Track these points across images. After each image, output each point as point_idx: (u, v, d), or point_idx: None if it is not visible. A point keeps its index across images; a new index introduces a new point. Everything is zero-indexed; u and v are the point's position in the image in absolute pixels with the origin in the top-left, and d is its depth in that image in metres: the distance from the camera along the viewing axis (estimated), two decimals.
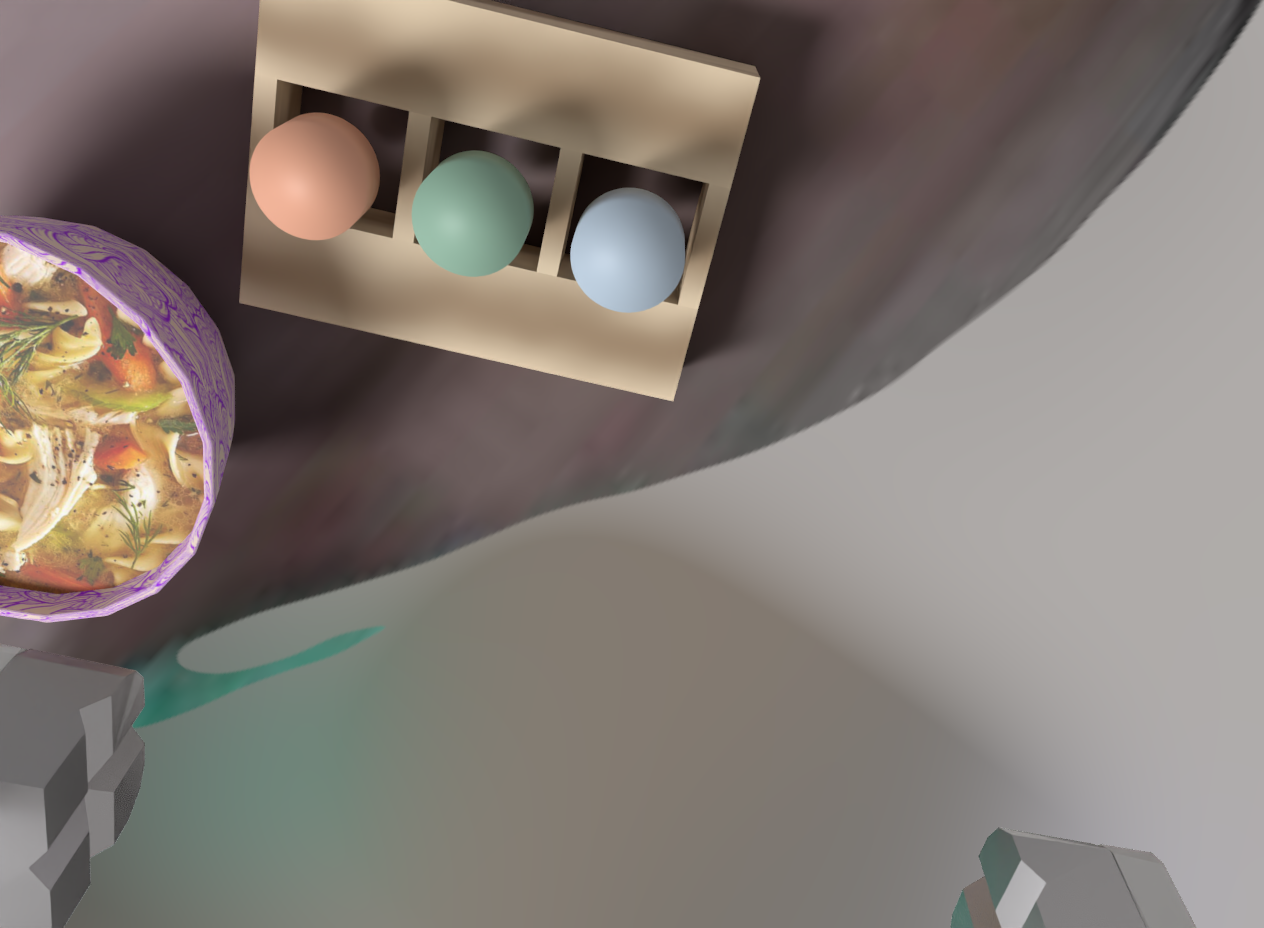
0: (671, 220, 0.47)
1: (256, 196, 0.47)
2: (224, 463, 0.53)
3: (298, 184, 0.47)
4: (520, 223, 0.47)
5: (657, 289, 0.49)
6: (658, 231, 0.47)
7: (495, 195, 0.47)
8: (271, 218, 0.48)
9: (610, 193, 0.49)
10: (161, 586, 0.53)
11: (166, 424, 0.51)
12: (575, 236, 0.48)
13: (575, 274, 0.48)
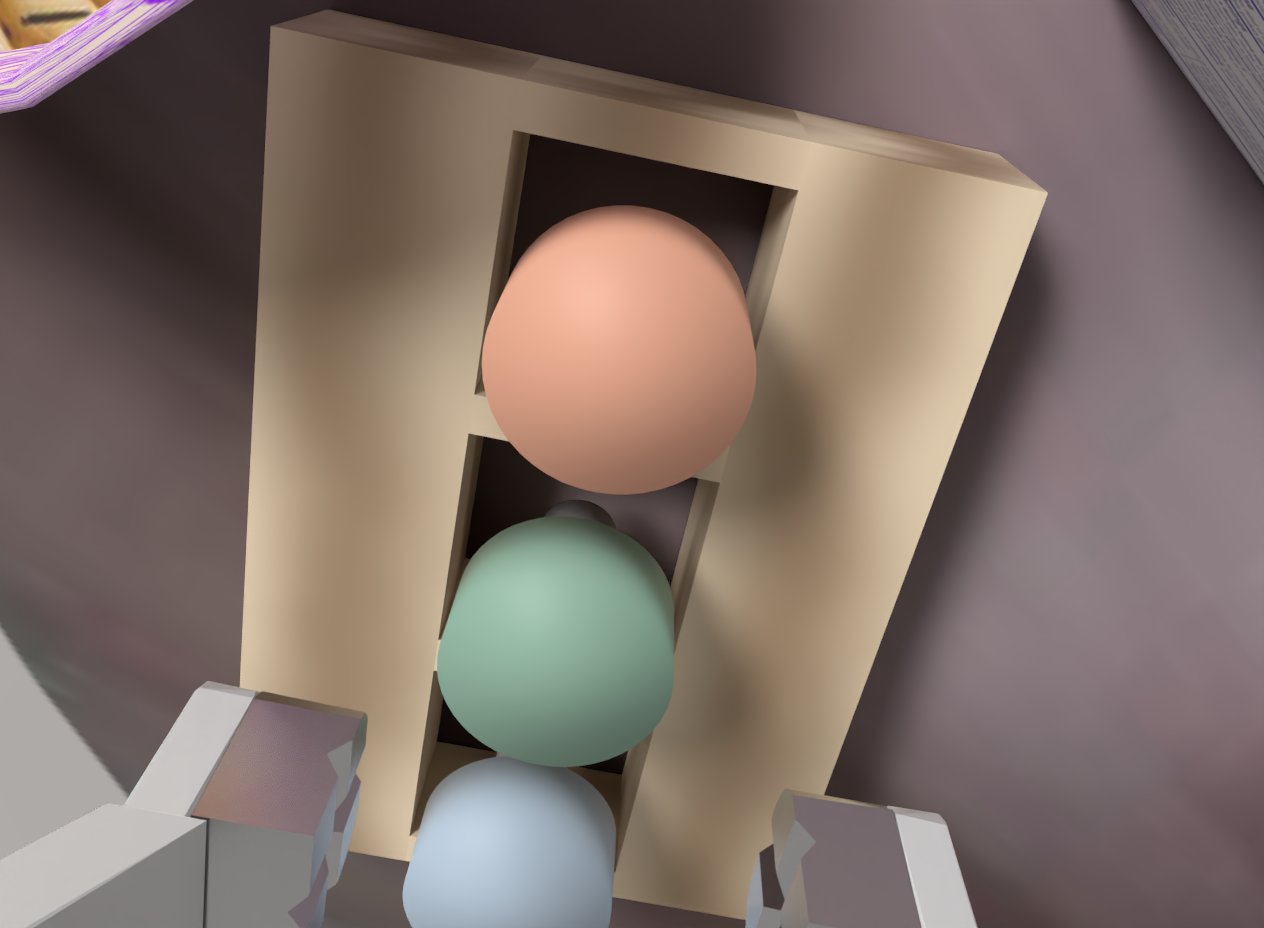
0: None
1: (578, 249, 0.19)
2: None
3: (613, 351, 0.20)
4: (555, 756, 0.24)
5: None
6: None
7: (608, 720, 0.24)
8: (526, 278, 0.19)
9: (608, 822, 0.28)
10: None
11: None
12: (539, 837, 0.25)
13: (465, 834, 0.25)
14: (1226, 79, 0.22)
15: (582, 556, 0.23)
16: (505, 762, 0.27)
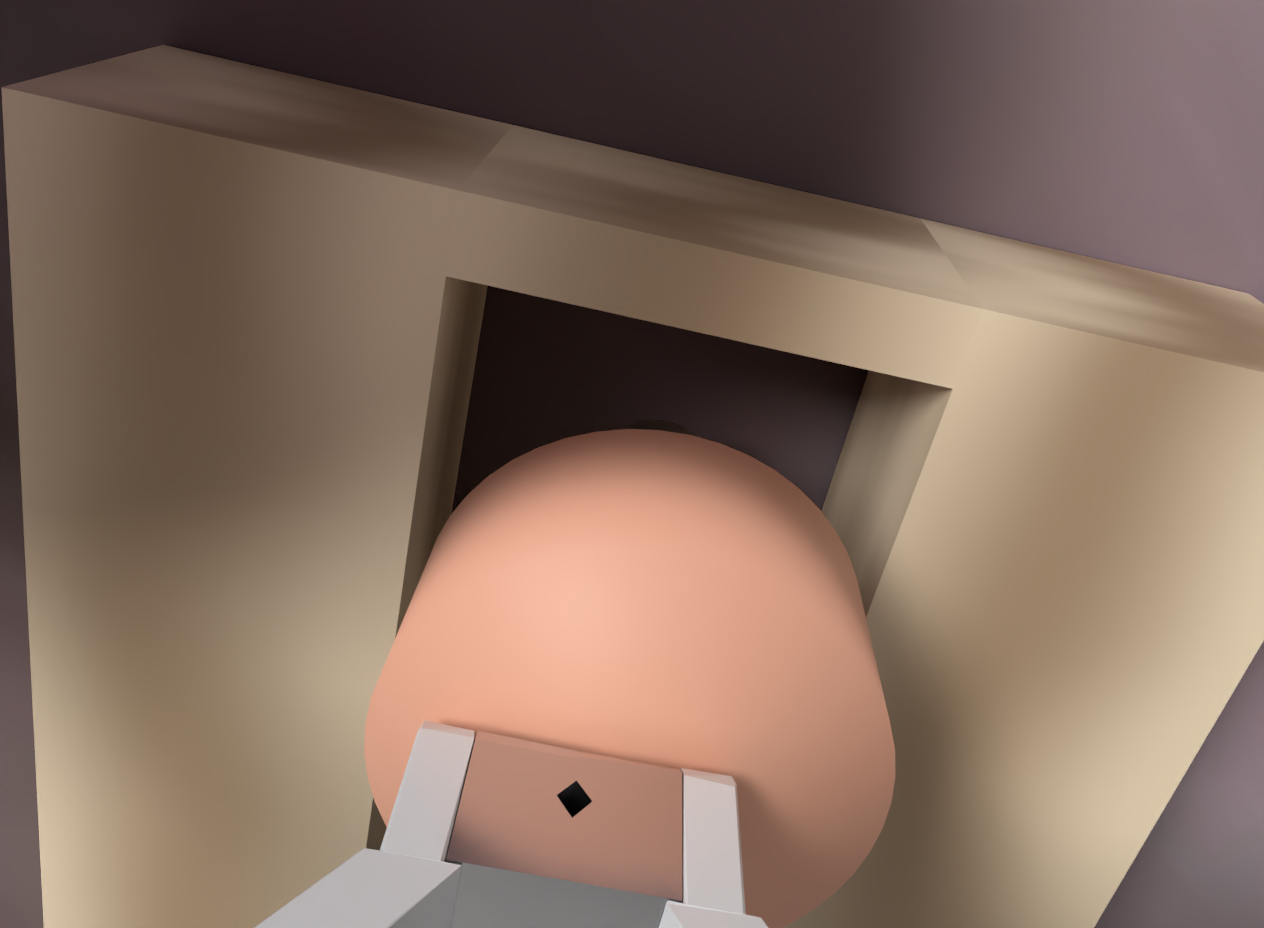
0: None
1: (549, 566, 0.09)
2: None
3: (615, 741, 0.10)
4: None
5: None
6: None
7: None
8: (445, 611, 0.10)
9: None
10: None
11: None
12: None
13: None
14: None
15: None
16: None
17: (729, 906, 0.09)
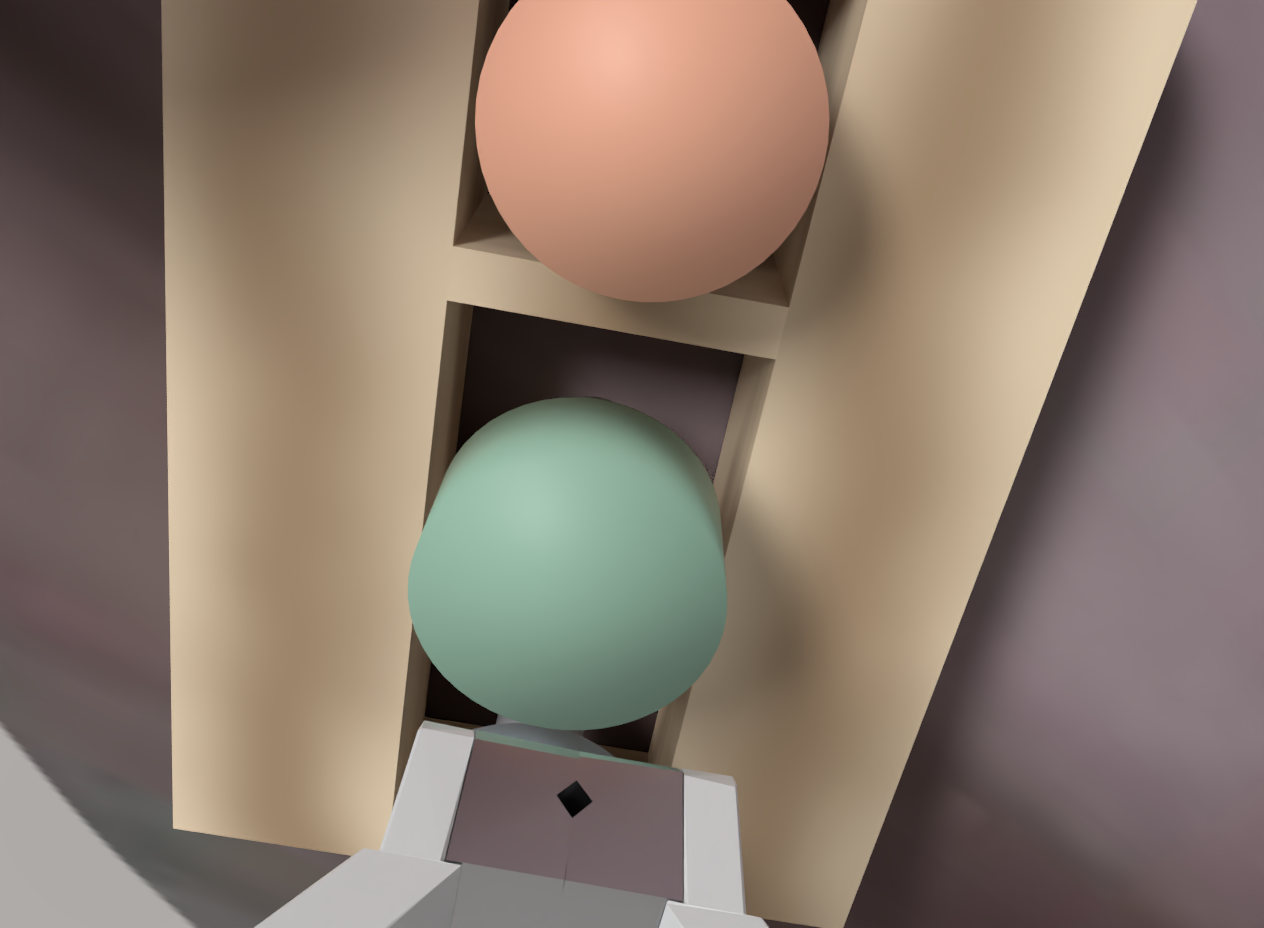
0: None
1: None
2: None
3: (643, 101, 0.15)
4: (570, 715, 0.18)
5: None
6: None
7: (640, 665, 0.18)
8: None
9: None
10: None
11: None
12: None
13: None
14: None
15: (601, 441, 0.17)
16: (505, 731, 0.21)
17: (730, 906, 0.09)
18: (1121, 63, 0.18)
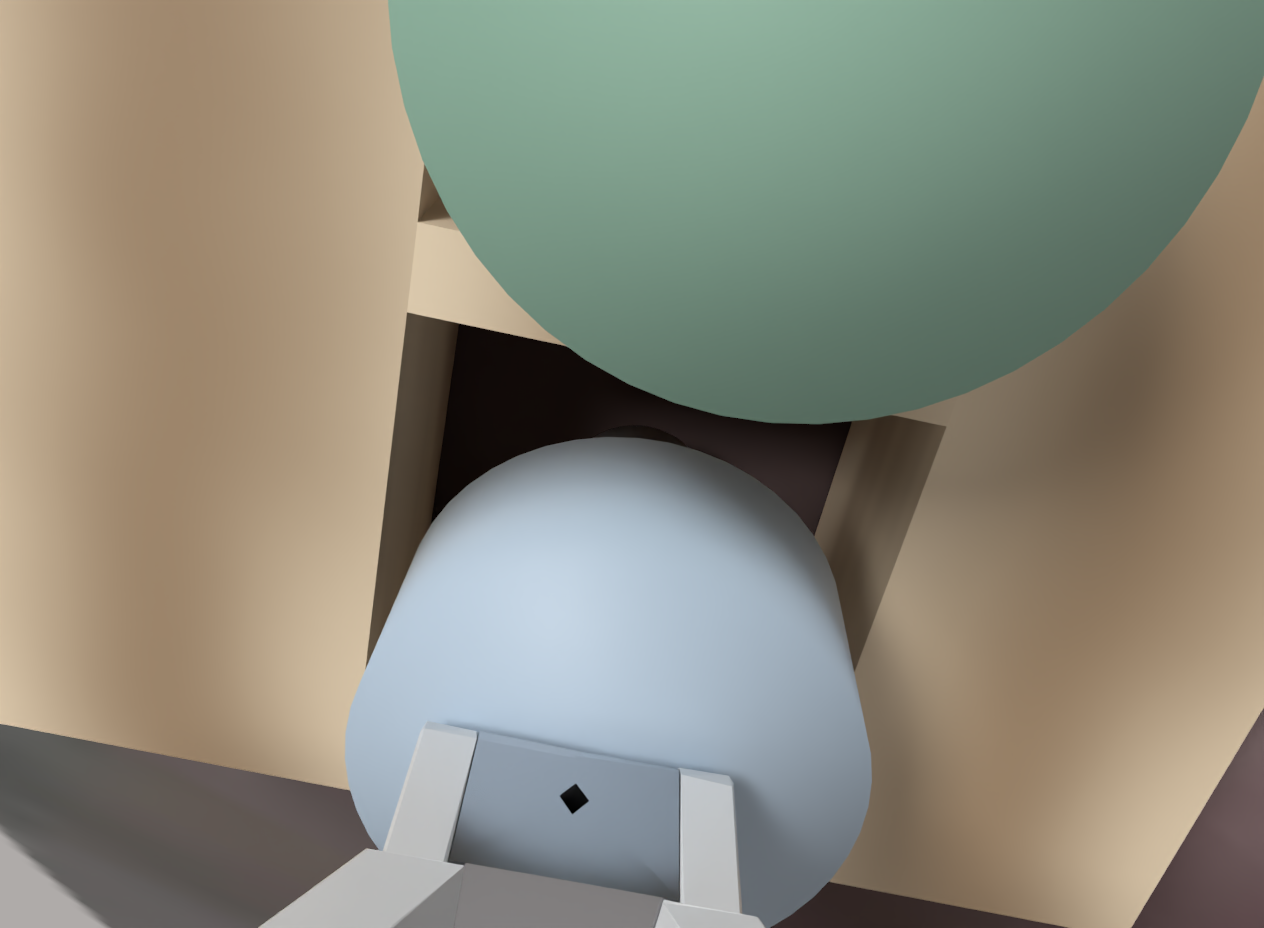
0: (769, 917, 0.11)
1: None
2: None
3: None
4: (788, 381, 0.07)
5: None
6: None
7: (995, 229, 0.07)
8: None
9: (837, 601, 0.12)
10: None
11: None
12: (704, 586, 0.09)
13: (506, 578, 0.10)
14: None
15: None
16: (599, 447, 0.11)
17: (726, 905, 0.09)
18: None
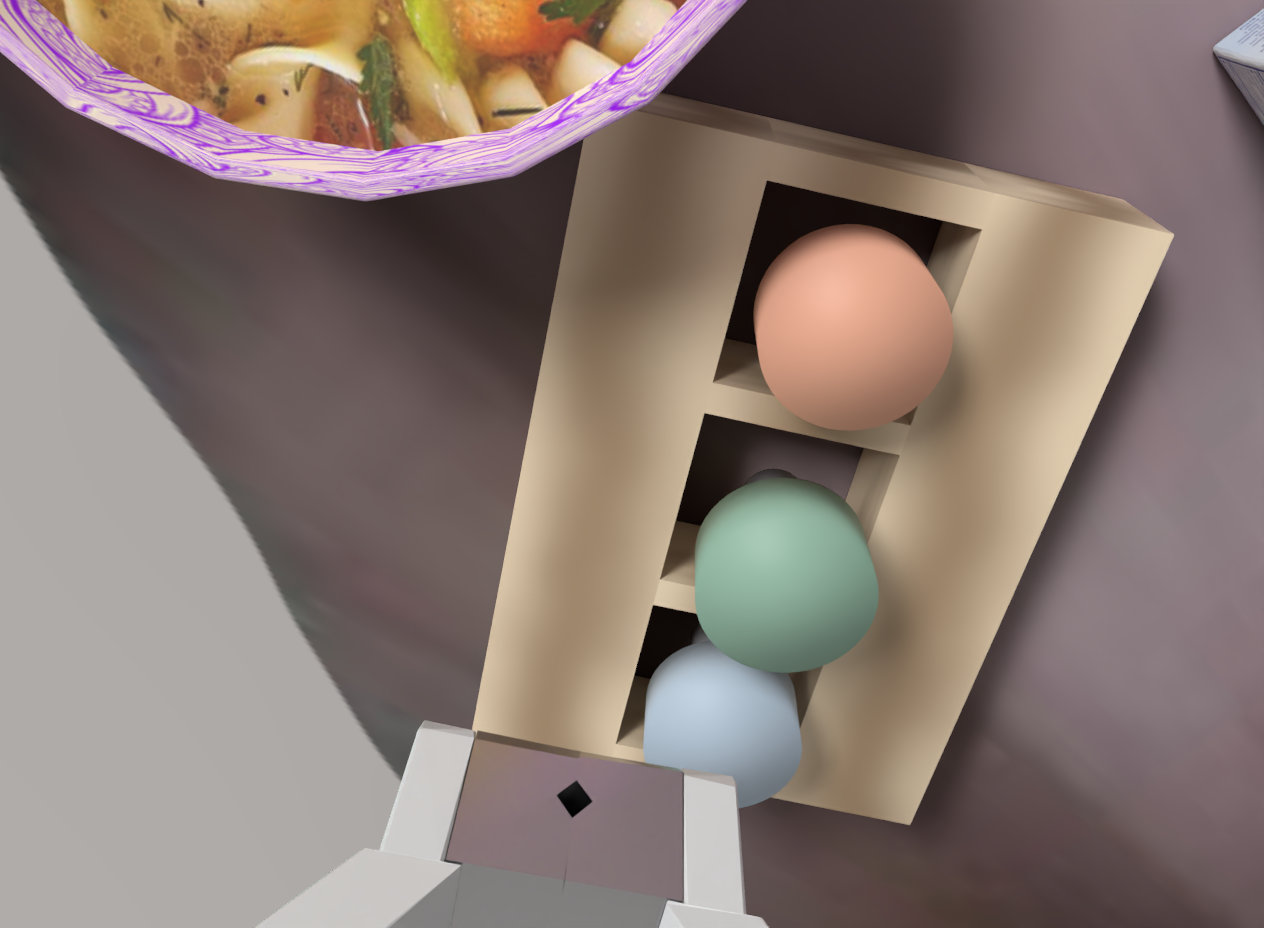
0: None
1: (837, 255, 0.28)
2: None
3: (852, 327, 0.28)
4: (778, 663, 0.31)
5: None
6: (757, 782, 0.35)
7: (823, 635, 0.31)
8: (797, 274, 0.28)
9: (793, 692, 0.36)
10: None
11: (378, 56, 0.23)
12: (754, 694, 0.34)
13: (698, 691, 0.34)
14: None
15: (811, 507, 0.30)
16: None
17: (729, 906, 0.09)
18: (1114, 300, 0.30)
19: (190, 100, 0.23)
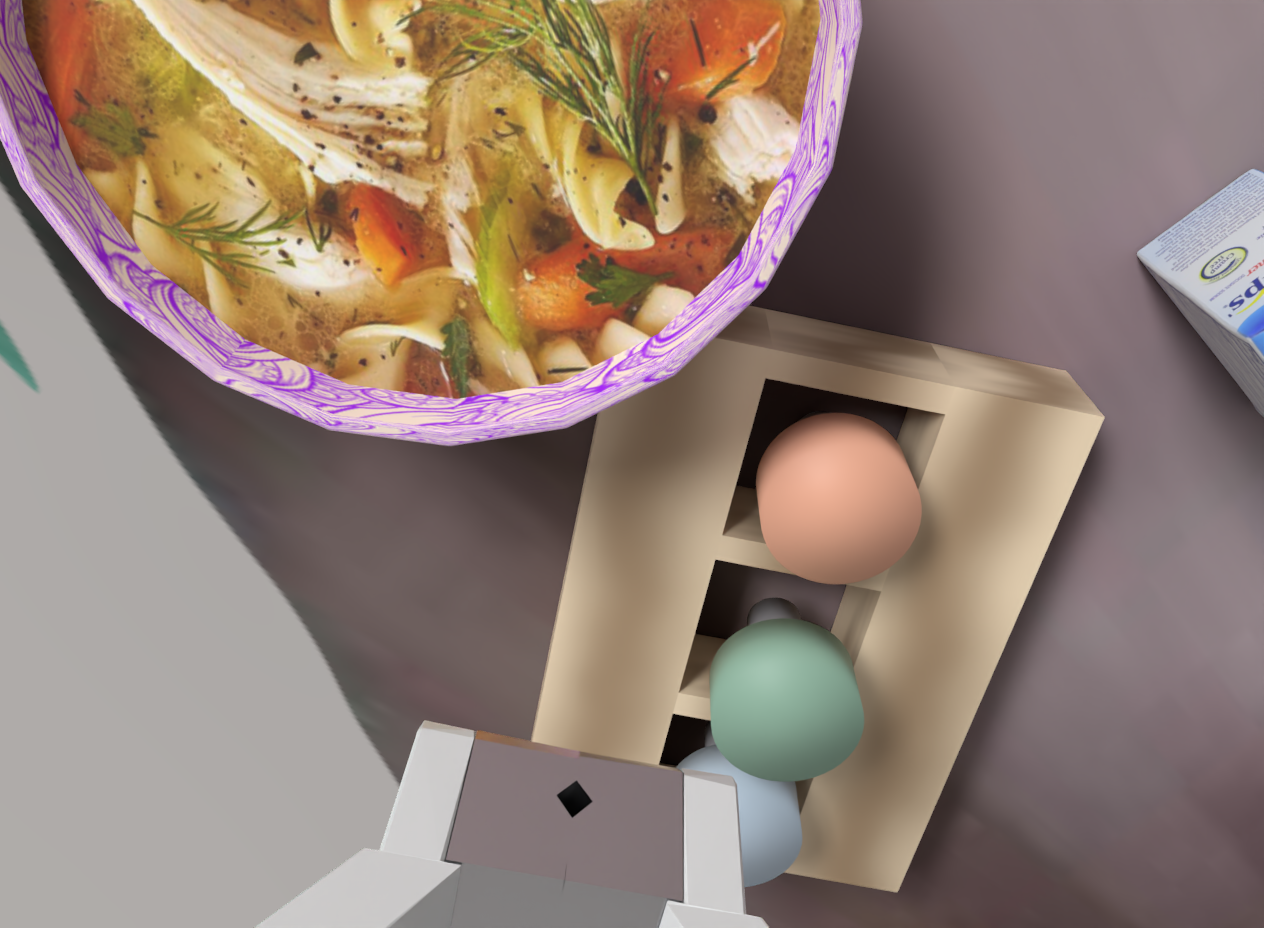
0: (776, 874, 0.42)
1: (824, 450, 0.34)
2: None
3: (838, 504, 0.34)
4: (781, 774, 0.37)
5: None
6: (765, 865, 0.41)
7: (819, 751, 0.37)
8: (792, 465, 0.34)
9: (794, 786, 0.42)
10: (125, 309, 0.27)
11: (457, 330, 0.29)
12: (761, 793, 0.40)
13: None
14: (1218, 346, 0.35)
15: (807, 647, 0.36)
16: None
17: (729, 906, 0.09)
18: (1057, 468, 0.36)
19: (306, 363, 0.29)
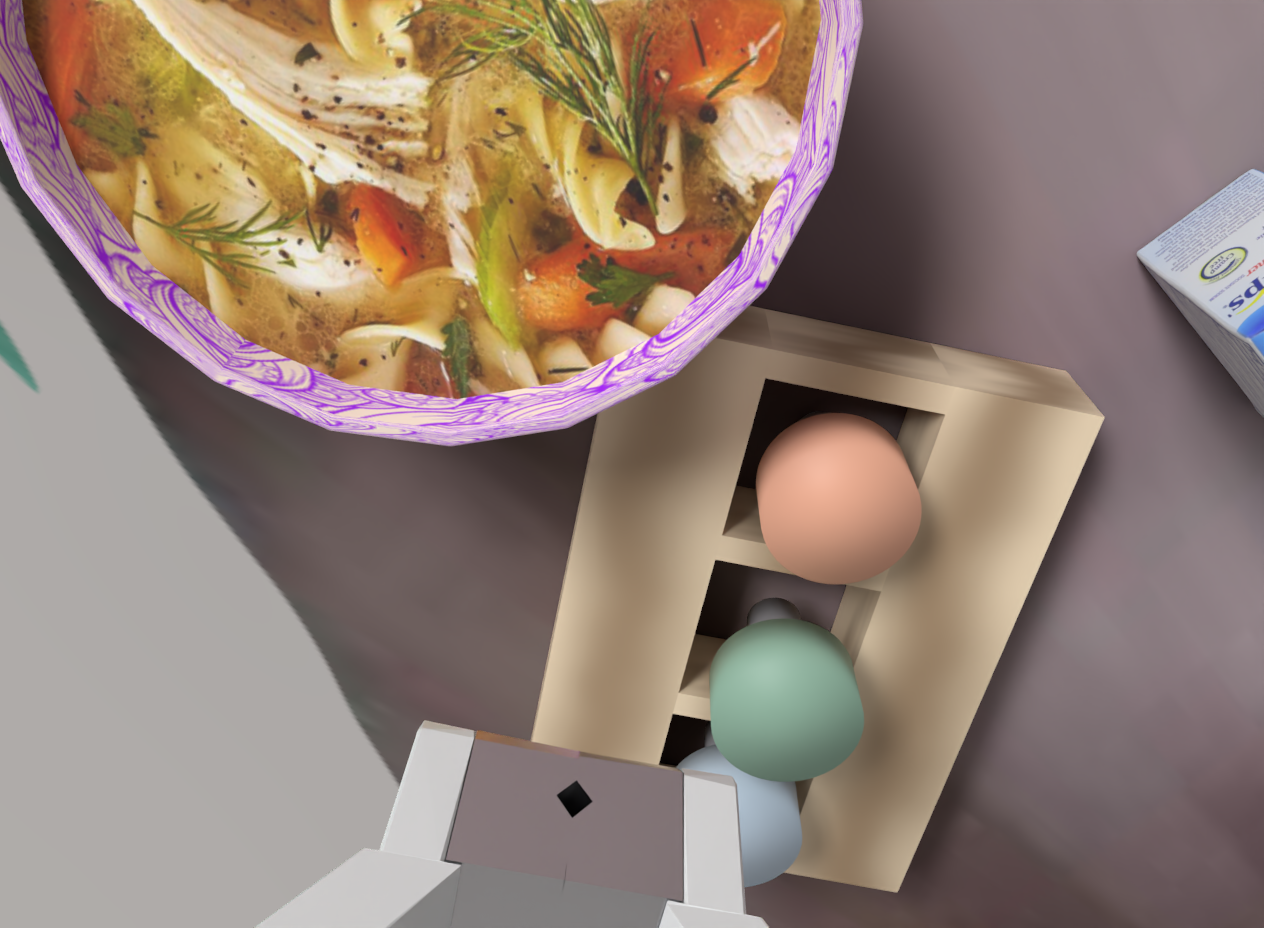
0: (776, 874, 0.42)
1: (824, 450, 0.34)
2: None
3: (838, 505, 0.34)
4: (781, 774, 0.37)
5: None
6: (765, 865, 0.41)
7: (818, 752, 0.37)
8: (792, 465, 0.34)
9: (794, 786, 0.42)
10: (125, 310, 0.27)
11: (458, 331, 0.29)
12: (760, 793, 0.40)
13: None
14: (1218, 347, 0.35)
15: (807, 647, 0.36)
16: None
17: (730, 906, 0.09)
18: (1057, 468, 0.36)
19: (307, 364, 0.29)
